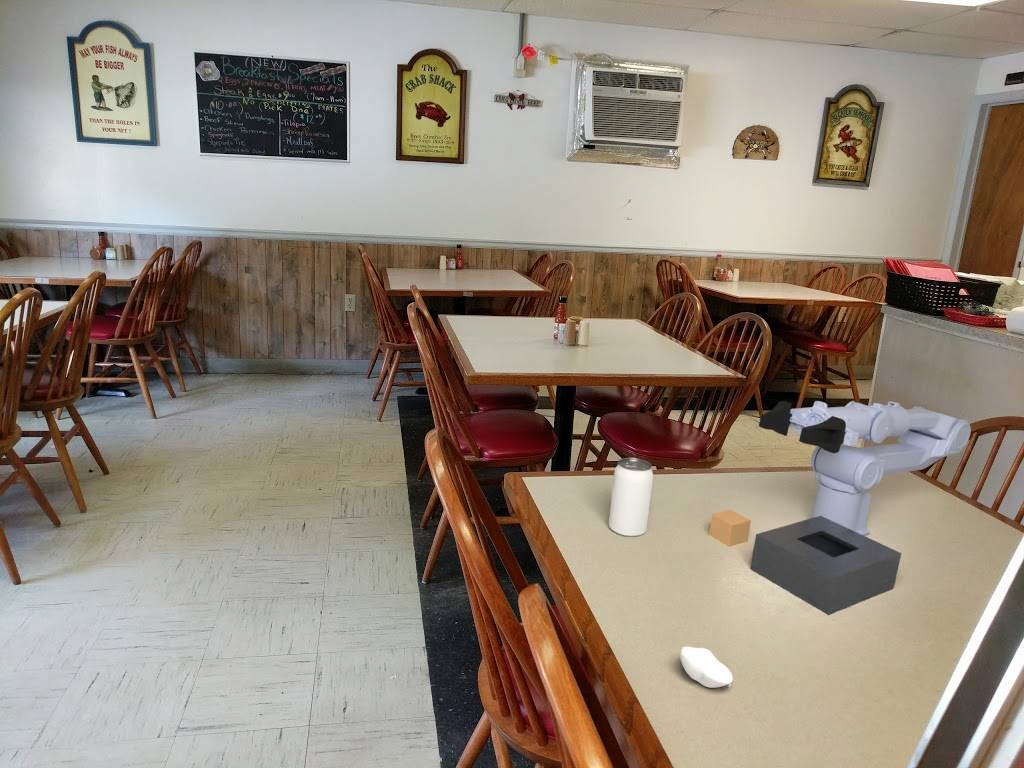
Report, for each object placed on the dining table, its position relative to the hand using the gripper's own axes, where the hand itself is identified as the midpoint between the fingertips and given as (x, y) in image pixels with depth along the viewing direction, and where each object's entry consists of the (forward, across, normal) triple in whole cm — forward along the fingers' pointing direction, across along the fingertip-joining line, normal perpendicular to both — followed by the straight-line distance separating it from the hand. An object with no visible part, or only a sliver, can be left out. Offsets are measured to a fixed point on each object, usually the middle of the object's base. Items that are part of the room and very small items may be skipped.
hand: (781, 428), depth 114 cm
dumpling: (+31, +19, +24) cm, 44 cm away
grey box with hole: (-4, +10, +22) cm, 24 cm away
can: (+13, -16, +23) cm, 31 cm away
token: (-1, -6, +22) cm, 23 cm away
